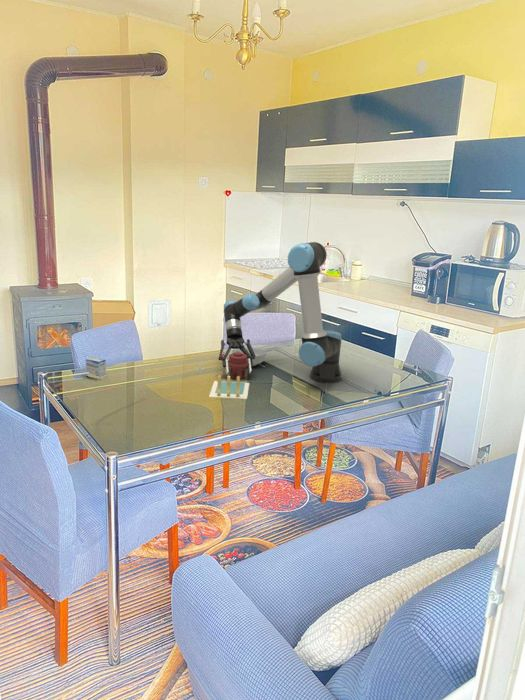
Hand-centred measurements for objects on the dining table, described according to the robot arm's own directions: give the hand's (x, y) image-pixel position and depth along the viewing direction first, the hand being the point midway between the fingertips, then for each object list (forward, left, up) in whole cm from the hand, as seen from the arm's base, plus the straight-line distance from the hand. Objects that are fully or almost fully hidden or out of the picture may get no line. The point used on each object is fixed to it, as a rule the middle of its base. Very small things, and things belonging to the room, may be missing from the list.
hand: (238, 372), depth 236 cm
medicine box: (+65, +5, -4) cm, 65 cm away
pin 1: (+7, +22, -3) cm, 23 cm away
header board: (+3, +14, -4) cm, 15 cm away
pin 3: (-1, +22, -3) cm, 22 cm away
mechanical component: (+1, -3, -4) cm, 5 cm away
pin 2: (+3, +22, -3) cm, 22 cm away
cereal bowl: (-3, -25, -4) cm, 25 cm away
